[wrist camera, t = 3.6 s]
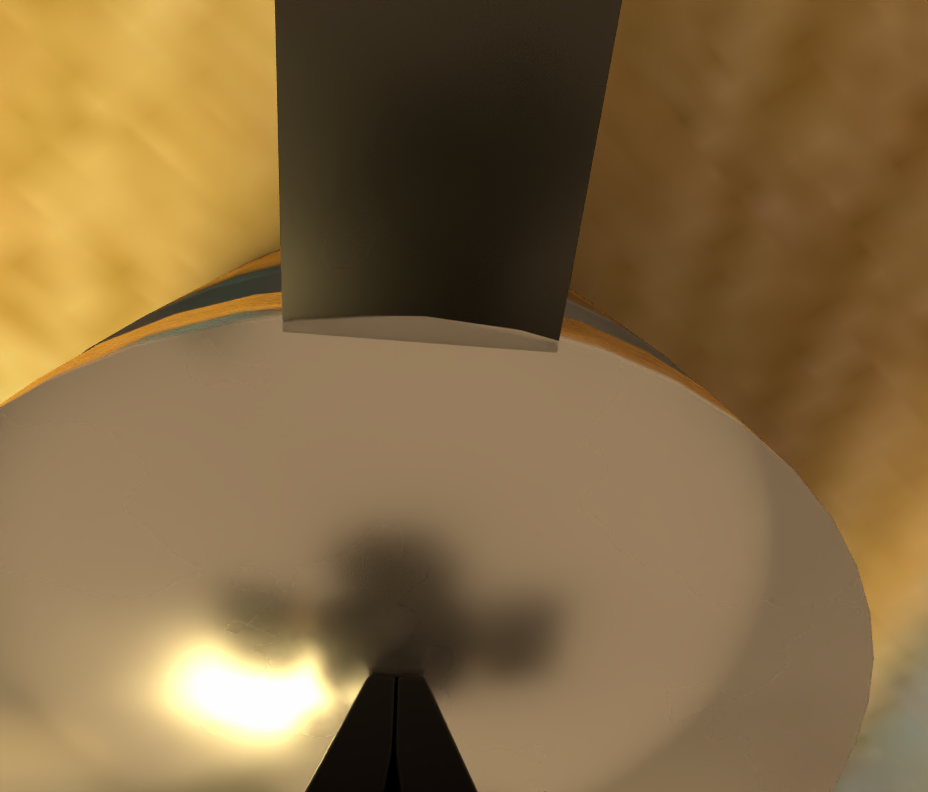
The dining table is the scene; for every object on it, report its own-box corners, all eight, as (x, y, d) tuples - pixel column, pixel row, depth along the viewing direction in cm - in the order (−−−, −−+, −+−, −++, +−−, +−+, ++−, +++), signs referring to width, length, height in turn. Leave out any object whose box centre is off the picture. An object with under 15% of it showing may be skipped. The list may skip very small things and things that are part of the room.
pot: (132, 721, 19) (14, 950, 13) (39, -53, 12) (-297, -259, 6) (613, 723, 21) (687, 927, 15) (780, 51, 14) (1037, -38, 8)
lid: (11, 956, 13) (-25, 1031, 12) (-461, -162, 5) (-696, -239, 4) (689, 931, 15) (711, 995, 14) (1127, 71, 7) (1260, 62, 6)
